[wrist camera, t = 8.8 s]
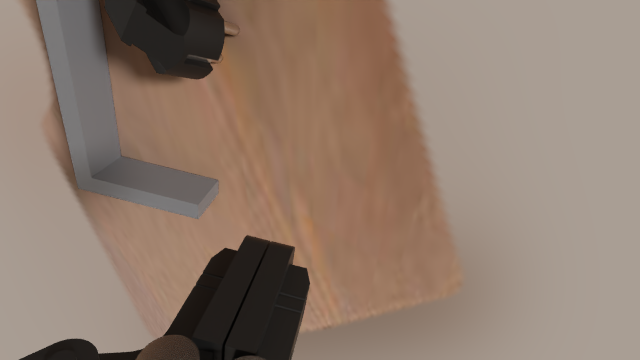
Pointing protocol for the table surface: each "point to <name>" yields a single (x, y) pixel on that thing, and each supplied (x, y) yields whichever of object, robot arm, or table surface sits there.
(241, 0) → the table surface
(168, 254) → the table surface
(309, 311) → the table surface
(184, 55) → the power plug
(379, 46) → the table surface
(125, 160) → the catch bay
